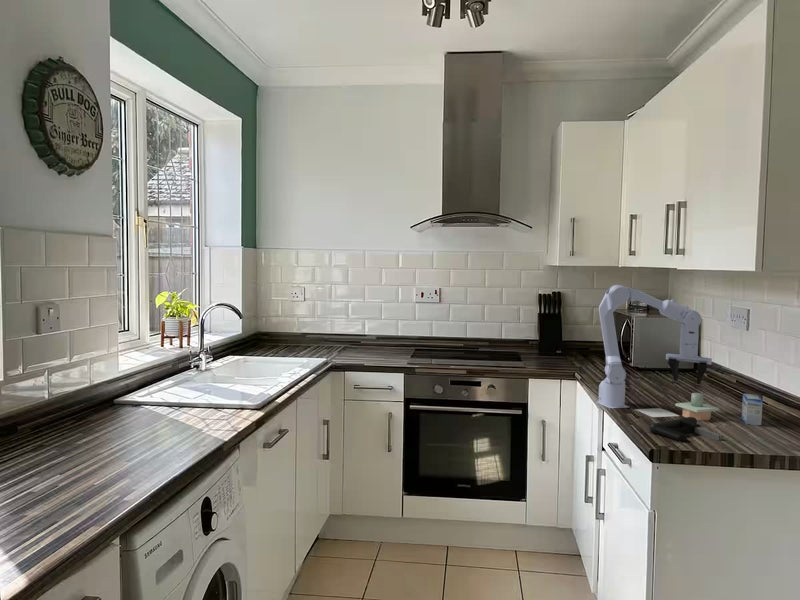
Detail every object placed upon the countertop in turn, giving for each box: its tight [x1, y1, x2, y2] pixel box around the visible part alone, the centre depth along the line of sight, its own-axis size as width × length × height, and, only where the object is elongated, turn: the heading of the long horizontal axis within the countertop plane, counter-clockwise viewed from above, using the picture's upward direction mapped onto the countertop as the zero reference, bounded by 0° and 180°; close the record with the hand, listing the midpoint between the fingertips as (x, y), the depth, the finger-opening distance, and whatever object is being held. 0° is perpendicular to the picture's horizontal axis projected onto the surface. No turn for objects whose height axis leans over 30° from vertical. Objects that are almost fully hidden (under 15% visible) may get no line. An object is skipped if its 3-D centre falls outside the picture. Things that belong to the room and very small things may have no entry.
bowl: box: [681, 408, 712, 421], centre depth 193 cm, size 8×8×4 cm
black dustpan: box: [649, 417, 723, 443], centre depth 174 cm, size 3×20×16 cm
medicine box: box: [741, 393, 763, 426], centre depth 189 cm, size 8×4×9 cm, turn 159°
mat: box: [634, 407, 680, 418], centre depth 198 cm, size 10×10×1 cm
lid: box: [675, 392, 720, 412], centre depth 192 cm, size 9×9×5 cm
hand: (687, 382), depth 202 cm, fingers open, 7 cm apart
